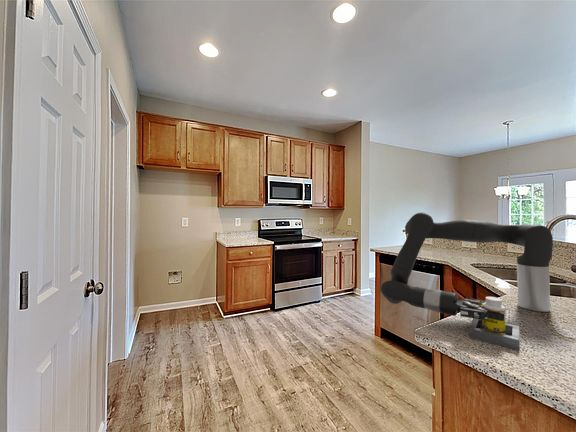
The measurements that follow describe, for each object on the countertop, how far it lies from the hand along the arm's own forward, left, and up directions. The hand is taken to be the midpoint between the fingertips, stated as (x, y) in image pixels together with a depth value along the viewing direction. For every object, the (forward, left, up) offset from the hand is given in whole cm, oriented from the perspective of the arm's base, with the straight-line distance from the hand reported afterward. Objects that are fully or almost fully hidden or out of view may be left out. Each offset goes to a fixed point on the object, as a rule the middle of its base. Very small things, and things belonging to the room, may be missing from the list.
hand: (504, 314), depth 76 cm
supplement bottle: (0, -3, -6) cm, 7 cm away
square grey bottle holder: (0, -2, -8) cm, 8 cm away
